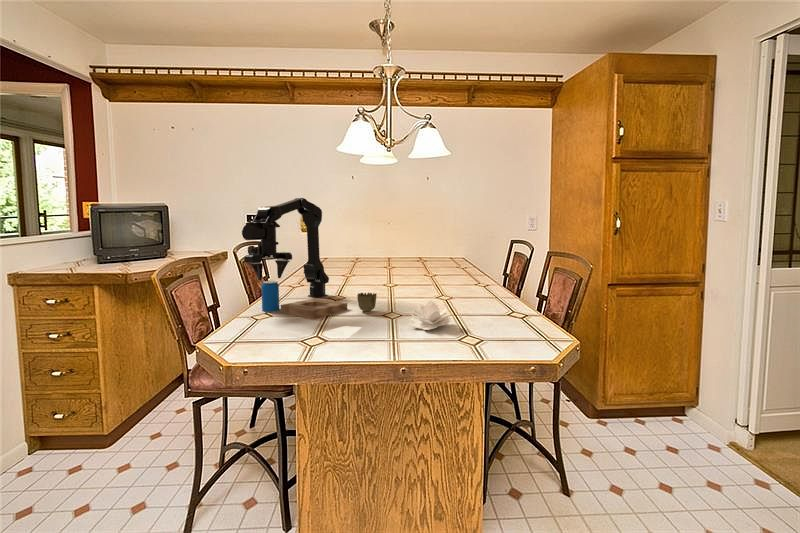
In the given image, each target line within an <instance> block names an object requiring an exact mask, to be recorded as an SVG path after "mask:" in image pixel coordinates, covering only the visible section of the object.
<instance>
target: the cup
mask: <svg viewBox="0 0 800 533" xmlns="http://www.w3.org/2000/svg"><path fill="white" fill-rule="evenodd" d="M356 295H357V296H356V297H357V303H358V307H359V309H360V310H361V311H362V312H361V313H362V314H371V313H373V311H374V309H375V308H376V303H377V292H376V293H375V292H373V293H372V292H358V293H357V294H356Z"/></svg>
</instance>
